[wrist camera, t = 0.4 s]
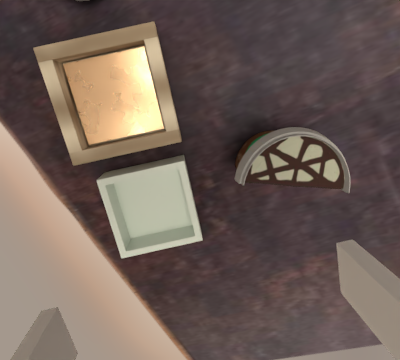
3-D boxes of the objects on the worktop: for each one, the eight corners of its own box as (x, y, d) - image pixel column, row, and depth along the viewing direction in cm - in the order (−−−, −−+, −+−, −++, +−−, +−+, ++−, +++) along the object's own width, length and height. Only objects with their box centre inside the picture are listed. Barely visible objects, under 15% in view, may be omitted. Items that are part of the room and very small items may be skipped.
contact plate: (64, 64, 34) (62, 64, 33) (144, 47, 34) (144, 46, 33) (89, 144, 36) (88, 144, 36) (164, 127, 36) (164, 128, 36)
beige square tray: (47, 52, 34) (33, 47, 31) (156, 28, 34) (154, 21, 31) (82, 159, 38) (73, 165, 34) (181, 137, 38) (181, 141, 35)
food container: (321, 125, 39) (368, 134, 29) (312, 170, 40) (354, 193, 31) (229, 117, 38) (246, 123, 28) (223, 164, 39) (237, 185, 30)
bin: (104, 172, 38) (96, 180, 35) (183, 154, 38) (184, 160, 35) (127, 243, 41) (121, 258, 37) (200, 227, 41) (202, 240, 38)
